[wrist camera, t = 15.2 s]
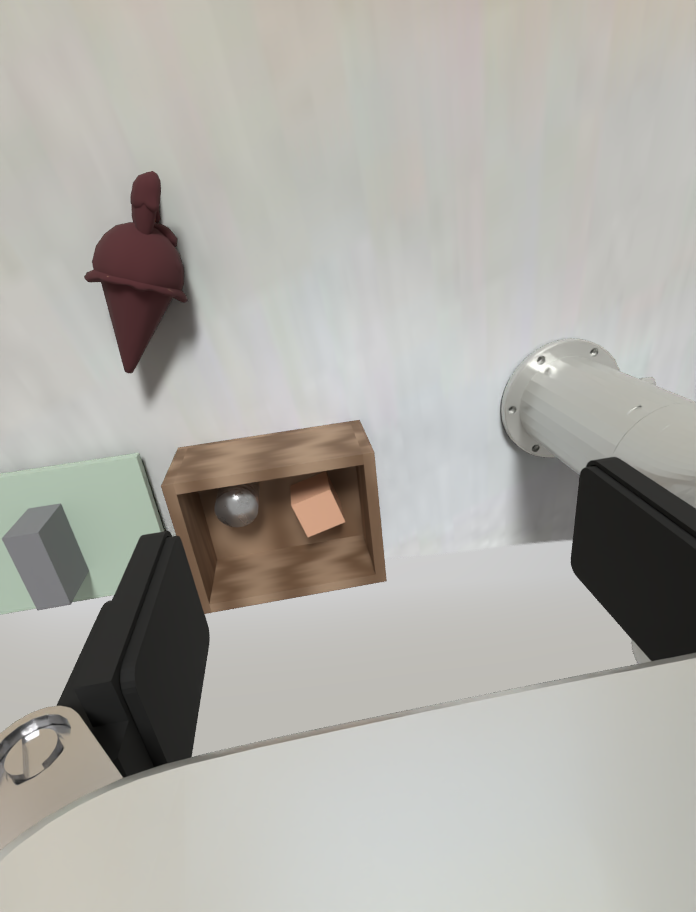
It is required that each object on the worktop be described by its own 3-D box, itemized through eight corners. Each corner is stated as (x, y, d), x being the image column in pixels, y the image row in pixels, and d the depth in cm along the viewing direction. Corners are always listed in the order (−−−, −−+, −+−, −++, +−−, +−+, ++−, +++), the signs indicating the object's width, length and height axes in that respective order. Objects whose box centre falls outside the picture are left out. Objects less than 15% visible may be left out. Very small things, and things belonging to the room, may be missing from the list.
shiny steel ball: (255, 468, 49) (253, 486, 45) (262, 502, 50) (261, 523, 47) (214, 474, 48) (210, 494, 45) (223, 508, 50) (219, 530, 46)
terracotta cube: (326, 470, 50) (330, 489, 46) (340, 501, 51) (345, 521, 48) (289, 485, 50) (291, 505, 46) (305, 516, 52) (307, 537, 48)
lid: (141, 448, 47) (121, 481, 41) (180, 572, 54) (168, 617, 47) (-66, 479, 46) (-120, 519, 39) (0, 602, 52) (-37, 654, 46)
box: (359, 419, 49) (374, 452, 42) (371, 535, 55) (386, 581, 48) (178, 447, 48) (160, 486, 40) (211, 563, 54) (201, 614, 46)
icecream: (179, 390, 39) (209, 186, 35) (74, 375, 36) (91, 147, 31) (172, 371, 45) (196, 194, 41) (80, 357, 42) (96, 163, 37)
